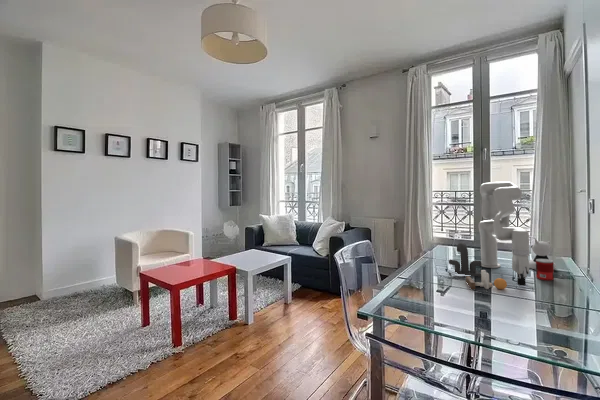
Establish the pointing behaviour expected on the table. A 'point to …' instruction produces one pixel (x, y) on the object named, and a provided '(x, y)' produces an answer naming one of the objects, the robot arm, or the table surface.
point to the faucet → (465, 262)
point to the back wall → (470, 282)
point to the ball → (500, 283)
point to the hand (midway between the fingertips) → (521, 285)
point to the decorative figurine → (540, 252)
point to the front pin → (482, 284)
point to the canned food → (545, 269)
